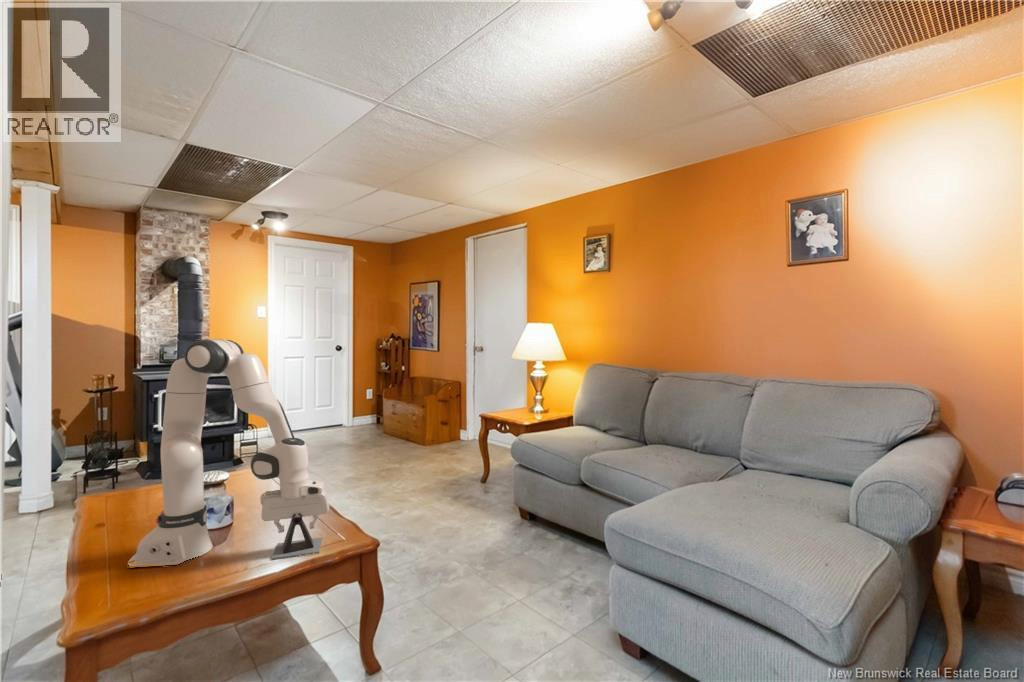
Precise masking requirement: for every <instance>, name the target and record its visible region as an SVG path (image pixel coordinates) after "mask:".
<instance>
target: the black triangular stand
mask: <svg viewBox="0 0 1024 682" xmlns="http://www.w3.org/2000/svg"><path fill="white" fill-rule="evenodd" d="M295 515H296V514H294V515H293V516H292V518H290V519H291V520H290V523H289V525H288V528H287V532H286V534H285V538H284V541H283V542H284V543H283V542H282V543H283V553H284V554H286V553H291V552H296V551H298V550H299V551H300V550H305V549H310V548H313V547H314V546H313V541H312V539H313V538H312V536H311V535H310V532H309V529H308V528H307V526H306V524H305V522H304V519H303V517H302V515H301V514H300V513H298V515H300V516H301V517H297V518H294V516H295ZM297 526H299V527H300V529H301V530H300V531H301V532H302V536H303V538H304V539H303V540H305V541H302V542H297V543H292V544H291V542H292V541H293V538H294V533H295V529H296V527H297Z"/></svg>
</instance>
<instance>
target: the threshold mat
mask: <svg viewBox="0 0 1024 682" xmlns="http://www.w3.org/2000/svg"><path fill="white" fill-rule="evenodd" d="M322 538H323V536H322V537H315V538H314V537H313V538H312V541H313V546H314V547H313V548H310V549H305V550H300V551H299V550H298V551H296V552H291V553H286V554H284V553H283V543H284V541H283V542H278V543H277V545H276V546H275V549H274V551H273V553H272V555H271V560H270V561H275V560H276V559H277V560H282V558H283V559H289V558H288V557H290V558H294V557H293V556H297V557H300V556H299V555H304V556H307V555H306V554H311V555H314V554H313V553H318V554H320V552H319V551H320V550H321V547H322V542H323V539H322ZM302 541H305V539H300V540H292V542H291V544H292V543H297V542H302Z"/></svg>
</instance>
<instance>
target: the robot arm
mask: <svg viewBox="0 0 1024 682" xmlns="http://www.w3.org/2000/svg"><path fill="white" fill-rule="evenodd" d="M220 374H223V375H225V376H226V377H227V378H228V381H229V385H230V389H231V392H232V393H231V394H232V396H233V400H234V403H235V404H236V407H237V408H238V409H239V410H241V411H242V412H244V413H247V414H249V415H255V416H258V417H260V418H262V419H263V420H265V421H266V423H267V424H268V426H269V429H270V432H271V434H272V437H273V439H274V443H275V444H274V445H273V446H271V447H270V446H269V447H268V448H265V449H263V450H259V451H258V452H257V453H255V454H254V455H253V456H252V458H251V461H250V470H251V473H252V474H253V476H254V477H256V478H257V479H259V480H263V481H265V480H272V479H276V478H277V479H279V489H276V490H269V491H265V492H264V493H262V494H261V496H260V499H259V500H260V504H261V505H262V508H261V520H262V521H263V522H271V521H273V524H274V525H275V526H276V528H277V530H278V531H277V532H278V534H281V533H284V532H285V525H283V524H281V523H280V520H287V519H292V516H293V515H294V514H296V515H295V516H294V518H297V517H301V516H300V515H298V513H300V514H301V515H302V518H303V517H304V518H305V517H312V519H313V520H312V521H310V522H309V530H310V529H316V522H317V519H318V517H319V515H326V514H327V513H329V512H330V511H329V510H330V501H329V495H328V493H327V490H326V489H325V483H324V481H320V480H316V479H310V474H309V471H308V468H309V452H308V446H307V444H306V442H305V441H304V440H303V439H301V438H299V437H295V436H294V433H293V431H292V427H291V425H290V423H289V420H288V417H287V415H286V412H285V410H284V407H283V406H282V403H281V402H280V401H279V400H278V398H276V396H275V395H274V393H273V391H272V388H271V385H270V382H269V378H268V374H267V371H266V369H265V367H264V364H263V363H262V361H261V359H260V357H259V356H258V355H257V354H256V353H255V354H254V353H249V352H245V351H244V350H243V348H242V346H241V345H240V344H239V343H237V342H235V340H234V341H233V340H230V339H223V338H212V339H207V338H206V339H199V340H197V341H194V342H192V343H191V344H190V345H188V346H187V348H186V349H185V351H184V357H183V358H179V359H177V360H175V361H174V362H173V363H172V365H171V366H170V370H169V373H168V377H167V381H166V387H165V389H166V390H165V397H164V410H163V421H162V432H161V440H160V441H161V442H160V466H161V482H162V483H161V484H162V498H163V499H162V501H163V503H162V504H163V510H162V511H161V512H160V514H159V515H158V516H157V518H156V519H155V524H157V525H156V527H155V528H153V529H152V530H150V532H149V533H147V534H146V535H145V536H144V537H143V538H141V540H140V541H139V542H138V545H137V548H136V553H135V554H133V555H132V557H131V558H130V559H129V560H128V561H127V566H128V565H129V566H137V565H139V566H141V565H142V566H143V565H171V564H172V565H173V564H180V563H182V562H184V561H186V560H188V561H190V560H189V559H191V560H192V558H194V559H196V558H198V556H199V557H202V556H203V555H204V554H207V553H208V552H210V551H211V550H212V549H213V547H214V546H213V543H212V541H211V538H210V534H209V531H208V530H209V529H208V524H207V522H208V511H207V506H206V503H205V488H204V452H203V447H202V432H203V427H204V421H205V413H206V400H207V390H208V389H207V387H208V381H209V378H210V376H211V375H220ZM195 557H196V558H195ZM133 560H135V562H133V563H129V562H130V561H133ZM186 562H187V561H186ZM184 563H185V562H184ZM182 564H183V563H182ZM180 565H181V564H180Z"/></svg>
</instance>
